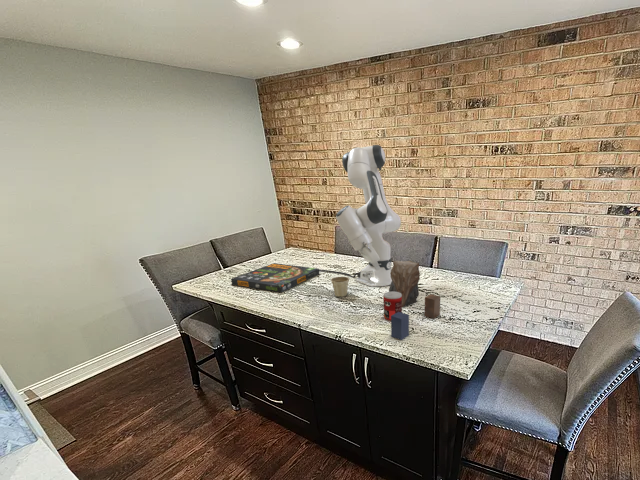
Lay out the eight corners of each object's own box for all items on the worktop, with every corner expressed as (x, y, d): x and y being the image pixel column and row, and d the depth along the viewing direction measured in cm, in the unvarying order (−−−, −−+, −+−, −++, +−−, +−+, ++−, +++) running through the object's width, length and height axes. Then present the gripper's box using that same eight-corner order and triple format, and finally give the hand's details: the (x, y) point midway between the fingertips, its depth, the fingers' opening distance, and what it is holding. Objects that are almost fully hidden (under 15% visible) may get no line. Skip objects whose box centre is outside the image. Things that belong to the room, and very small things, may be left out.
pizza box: (232, 284, 192) (230, 278, 191) (274, 268, 222) (273, 263, 221) (281, 292, 180) (280, 286, 178) (319, 274, 210) (318, 268, 208)
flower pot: (353, 292, 179) (352, 277, 175) (345, 299, 170) (343, 283, 167) (337, 291, 181) (336, 275, 178) (328, 297, 173) (327, 281, 170)
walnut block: (424, 316, 151) (424, 297, 147) (430, 312, 155) (430, 294, 151) (433, 318, 148) (434, 299, 145) (439, 315, 152) (440, 296, 148)
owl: (387, 299, 170) (387, 261, 162) (408, 294, 176) (409, 257, 168) (401, 307, 160) (401, 267, 152) (422, 302, 166) (423, 263, 158)
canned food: (383, 314, 153) (383, 291, 149) (401, 313, 154) (401, 291, 149) (384, 321, 146) (383, 297, 142) (402, 320, 146) (402, 297, 142)
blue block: (391, 336, 133) (390, 315, 130) (398, 331, 137) (398, 311, 133) (401, 340, 130) (401, 319, 127) (408, 335, 134) (409, 314, 131)
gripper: (372, 238, 136) (389, 267, 140) (364, 238, 156) (379, 263, 160) (358, 246, 136) (376, 275, 140) (353, 245, 155) (368, 271, 159)
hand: (378, 269), depth 150 cm, fingers closed
